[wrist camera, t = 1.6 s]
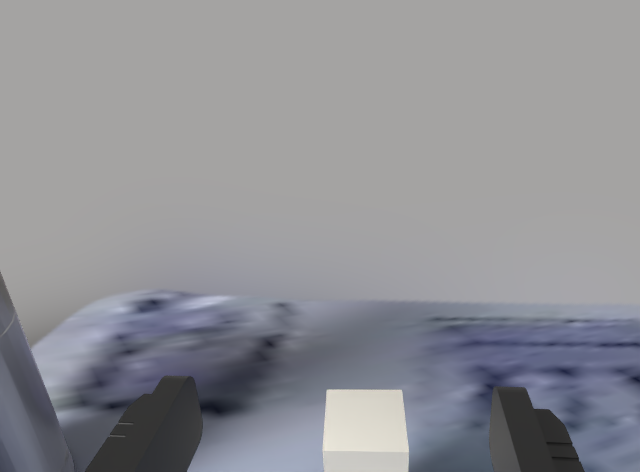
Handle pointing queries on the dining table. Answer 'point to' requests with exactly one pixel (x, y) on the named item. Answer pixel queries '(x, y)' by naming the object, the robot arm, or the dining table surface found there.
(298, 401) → the dining table surface
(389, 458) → the block
